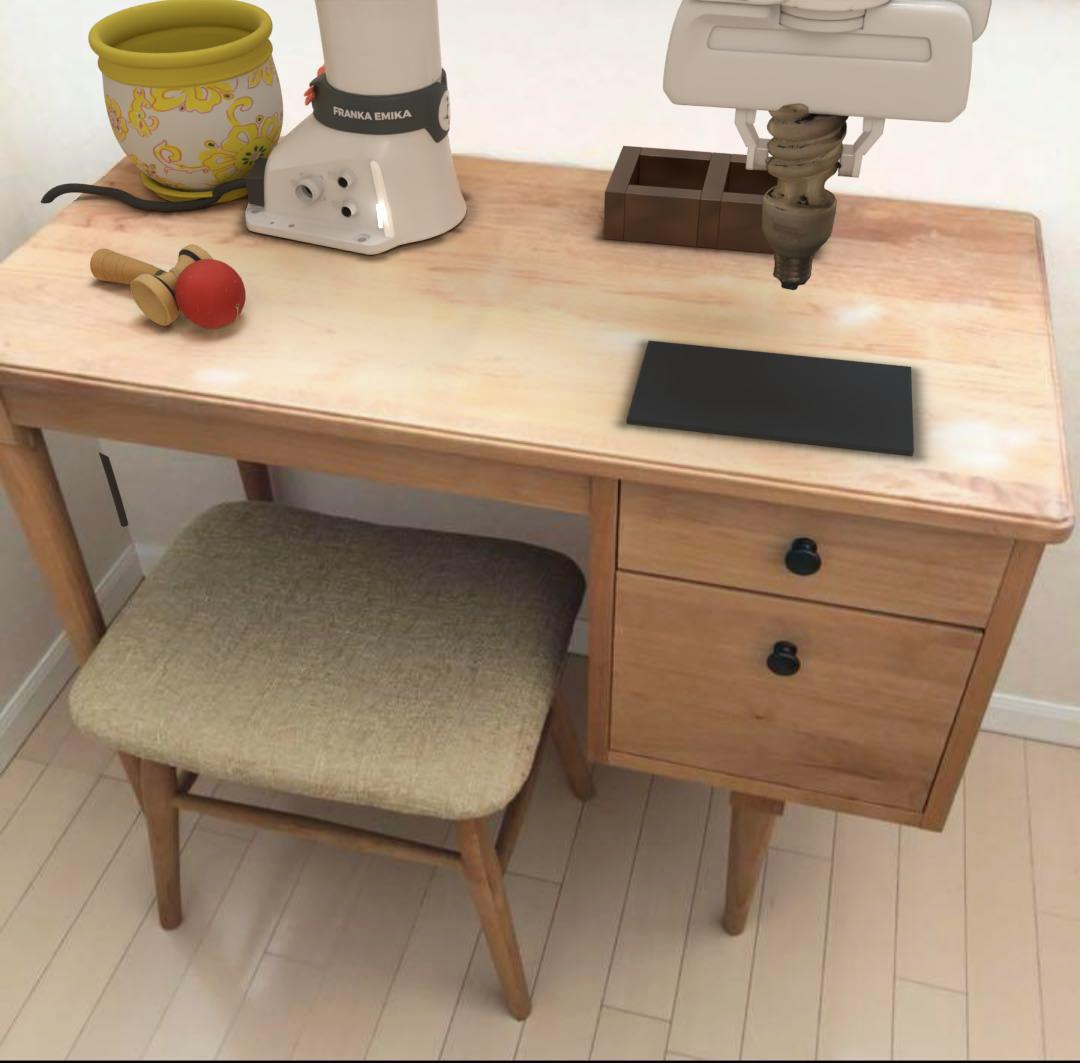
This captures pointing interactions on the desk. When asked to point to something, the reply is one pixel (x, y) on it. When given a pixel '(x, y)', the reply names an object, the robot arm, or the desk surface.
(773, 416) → the mat
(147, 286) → the kendama
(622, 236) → the stand
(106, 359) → the desk surface
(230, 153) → the flowerpot
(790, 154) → the light bulb
